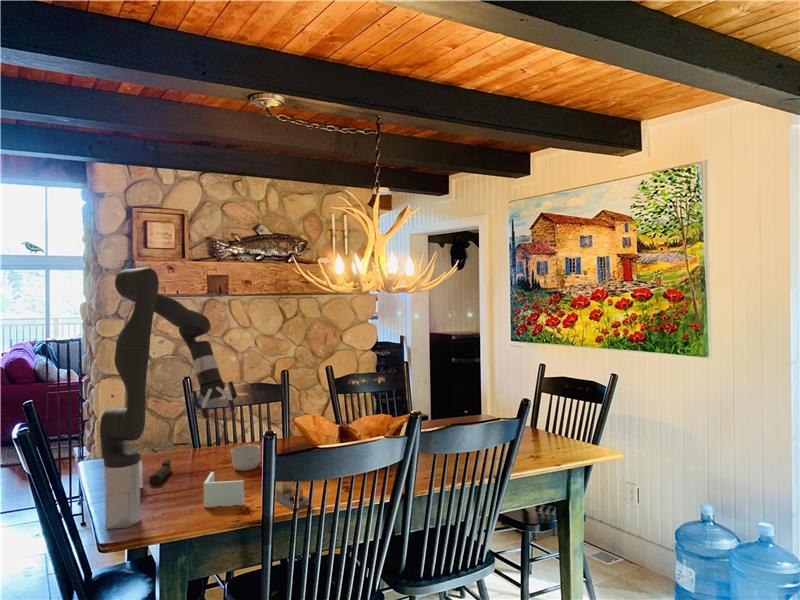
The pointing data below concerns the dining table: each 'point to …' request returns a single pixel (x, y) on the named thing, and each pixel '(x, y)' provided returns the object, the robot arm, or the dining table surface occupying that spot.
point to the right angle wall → (223, 492)
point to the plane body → (292, 499)
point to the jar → (140, 470)
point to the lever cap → (284, 487)
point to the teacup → (245, 457)
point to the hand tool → (160, 473)
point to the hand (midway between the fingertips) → (220, 415)
